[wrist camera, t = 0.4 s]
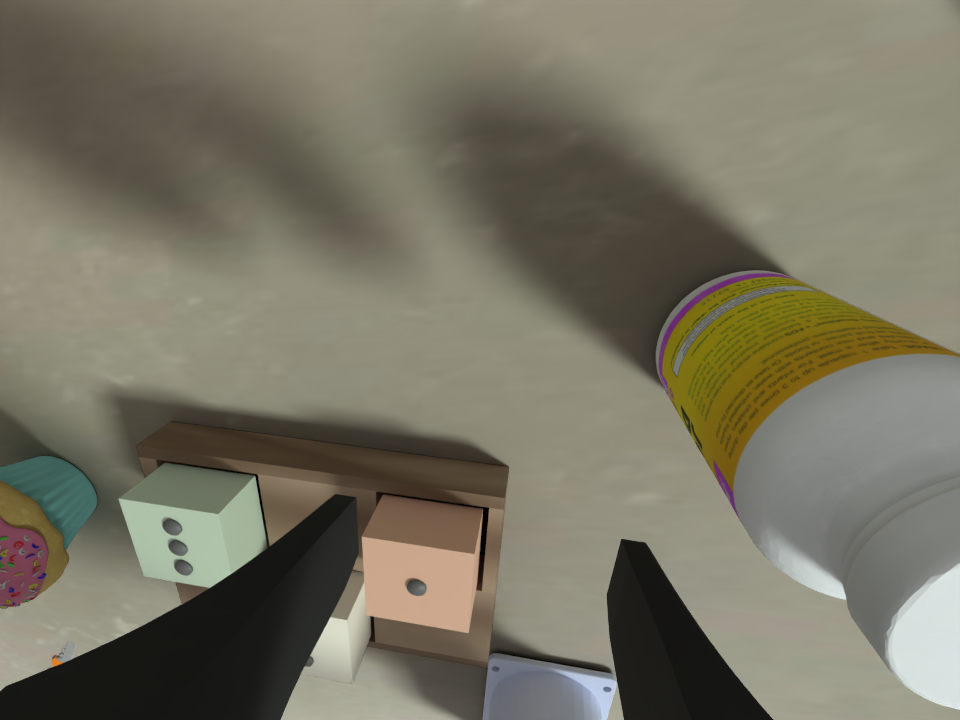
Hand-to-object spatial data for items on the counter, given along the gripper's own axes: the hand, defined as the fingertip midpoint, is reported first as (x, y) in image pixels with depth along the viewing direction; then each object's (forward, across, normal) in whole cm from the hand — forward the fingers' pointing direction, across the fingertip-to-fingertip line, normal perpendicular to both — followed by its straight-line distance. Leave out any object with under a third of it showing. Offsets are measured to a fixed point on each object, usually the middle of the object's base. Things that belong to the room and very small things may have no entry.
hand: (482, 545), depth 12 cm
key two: (+8, +9, +14) cm, 18 cm away
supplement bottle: (+10, -9, -3) cm, 14 cm away
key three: (+8, +15, +8) cm, 19 cm away
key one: (+8, +3, +8) cm, 12 cm away
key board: (+10, +9, +11) cm, 17 cm away
